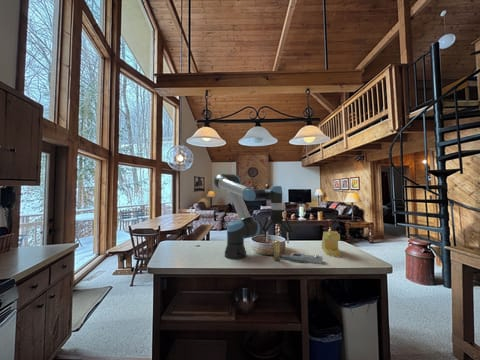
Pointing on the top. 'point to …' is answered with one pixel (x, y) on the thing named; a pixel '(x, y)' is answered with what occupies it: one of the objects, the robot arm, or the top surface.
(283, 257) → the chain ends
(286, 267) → the top surface
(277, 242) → the pin
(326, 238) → the yellow irregular block
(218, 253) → the top surface
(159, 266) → the top surface
